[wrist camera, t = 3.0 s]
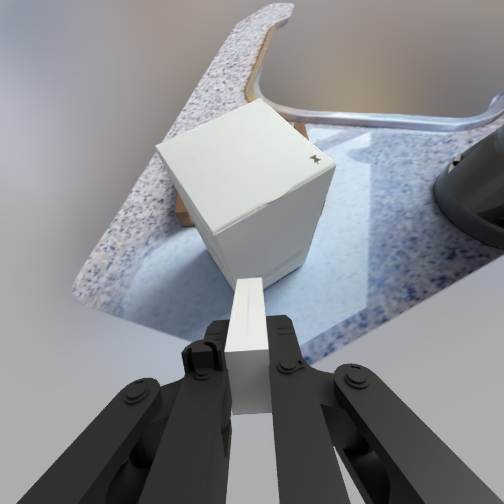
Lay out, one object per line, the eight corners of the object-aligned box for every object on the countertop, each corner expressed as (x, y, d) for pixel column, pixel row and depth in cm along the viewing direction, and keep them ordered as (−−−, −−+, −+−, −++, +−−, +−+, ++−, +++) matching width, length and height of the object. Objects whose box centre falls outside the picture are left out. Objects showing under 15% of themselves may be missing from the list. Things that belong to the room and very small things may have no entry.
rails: (301, 139, 39) (303, 122, 36) (320, 215, 31) (325, 200, 28) (191, 149, 39) (186, 133, 37) (182, 226, 31) (174, 212, 29)
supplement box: (264, 211, 31) (261, 92, 18) (306, 263, 27) (344, 162, 14) (203, 245, 29) (149, 142, 16) (240, 305, 26) (210, 236, 12)
